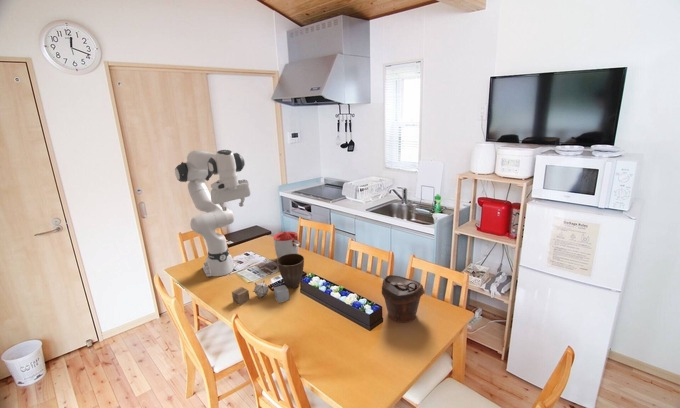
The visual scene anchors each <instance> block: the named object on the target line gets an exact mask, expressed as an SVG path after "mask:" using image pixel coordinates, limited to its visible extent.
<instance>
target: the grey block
mask: <svg viewBox="0 0 680 408" xmlns="http://www.w3.org/2000/svg"><path fill="white" fill-rule="evenodd" d="M273 295H274V298H275V300H276V302H277V303H278V304H279V303H283V302H286V301H289V300H290V293H289V288H288V287H287V286H286V285H285V284H281V285H279V286H275V287H273Z"/></svg>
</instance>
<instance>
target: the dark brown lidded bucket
mask: <svg viewBox="0 0 680 408" xmlns="http://www.w3.org/2000/svg"><path fill="white" fill-rule="evenodd" d="M424 294H425V289H424V286H423V284H422V283H420V282H419V281H417V280H414V279H410V278H406V277H405V276H404V277H403V276H401V275H400V276H399V275H392V274H390V275H389V274H388V275H385V277H383V280H382V285H381V295H382V297H383V299H384V302H385V307H386V310H387V315H388V317H389V318H390V319H392V320H393V321H394V322H398V323H408V322H411V321H413V320H415V318H416V317H417V312H418V308H419V305H420V301H421V297H423V295H424Z"/></svg>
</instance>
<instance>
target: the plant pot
mask: <svg viewBox="0 0 680 408" xmlns="http://www.w3.org/2000/svg"><path fill="white" fill-rule="evenodd" d="M276 263H277V267H278V270H279V273H280V277H281V278H282V281H283V283H284V285H285V286H286V287H287V289H296V288H298V287H299V286H300V284H301V281H302V277H303V272H304V266H305V265H304V264H305V256H303V255H302V254H299V253H298V254H286V255H283V256H281V257H279V258H278V257H277V259H276Z"/></svg>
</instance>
